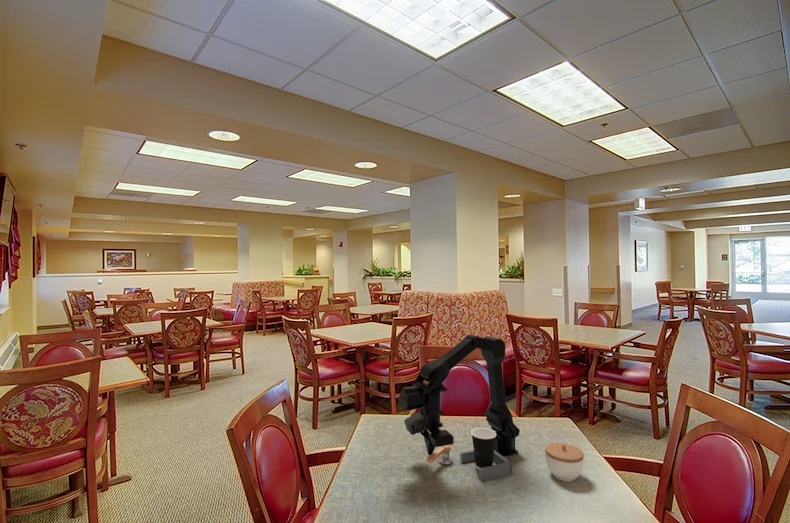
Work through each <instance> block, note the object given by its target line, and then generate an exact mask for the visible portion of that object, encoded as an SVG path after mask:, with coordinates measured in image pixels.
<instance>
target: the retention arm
mask: <svg viewBox="0 0 790 523" xmlns="http://www.w3.org/2000/svg"><path fill="white" fill-rule="evenodd" d="M451 450H452V444H451V445H446V446H440V447H437V449H436V450H434V451H433V453H432V454H431V455H428V456H427V457H426V463H429V464H432V463H434V462H435V461H437V460H438V457H440V456H442V454H443V453H444V452H445V451H449V452H450V451H451Z"/></svg>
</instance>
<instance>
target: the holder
mask: <svg viewBox="0 0 790 523" xmlns="http://www.w3.org/2000/svg"><path fill="white" fill-rule="evenodd" d="M459 453H460V454H459V455H460V458H459V460H460V461H459V462H460V463H461V464H462V463H468V462H469V463H470V462H475V457H474V448H473V449H469V450H468V449H467V450H463V451H460V452H459ZM493 463H494V464H493V466H488V467H483V468H479V470H478V479H479V480H480V481H485V480H489V479H493V478H498V477H502V476H507V475H513V463H512V462H511V461H510V460H508V459H507V458H506V457H505V456H502V455H500V454H499V453H498V452H496V451H495V450H494V457H493Z"/></svg>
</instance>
